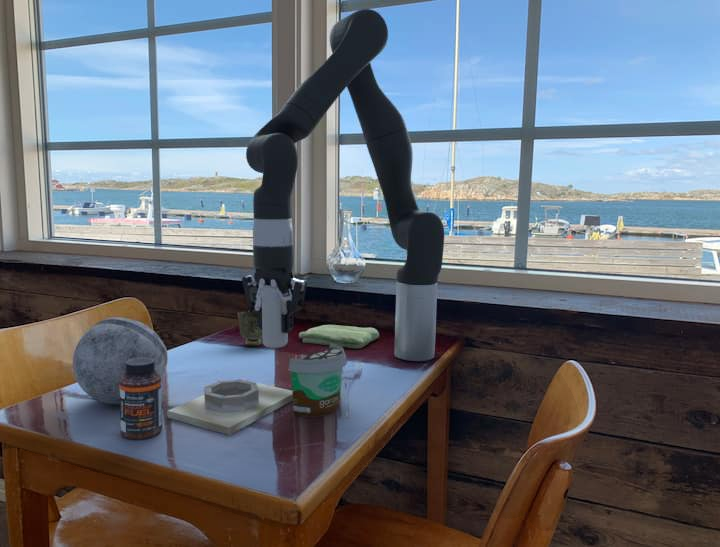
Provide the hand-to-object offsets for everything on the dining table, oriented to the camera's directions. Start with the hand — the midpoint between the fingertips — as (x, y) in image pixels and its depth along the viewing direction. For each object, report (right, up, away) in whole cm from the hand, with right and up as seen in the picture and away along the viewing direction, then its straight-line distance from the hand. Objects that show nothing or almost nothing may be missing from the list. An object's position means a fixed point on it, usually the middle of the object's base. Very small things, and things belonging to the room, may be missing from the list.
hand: (274, 330), depth 107 cm
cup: (-9, -7, +27) cm, 30 cm away
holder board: (-5, -12, -12) cm, 18 cm away
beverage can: (0, -3, 0) cm, 3 cm away
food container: (+11, -13, -12) cm, 20 cm away
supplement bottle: (-17, -13, -23) cm, 31 cm away
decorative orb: (-25, -12, -10) cm, 29 cm away
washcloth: (+11, -6, +34) cm, 36 cm away
